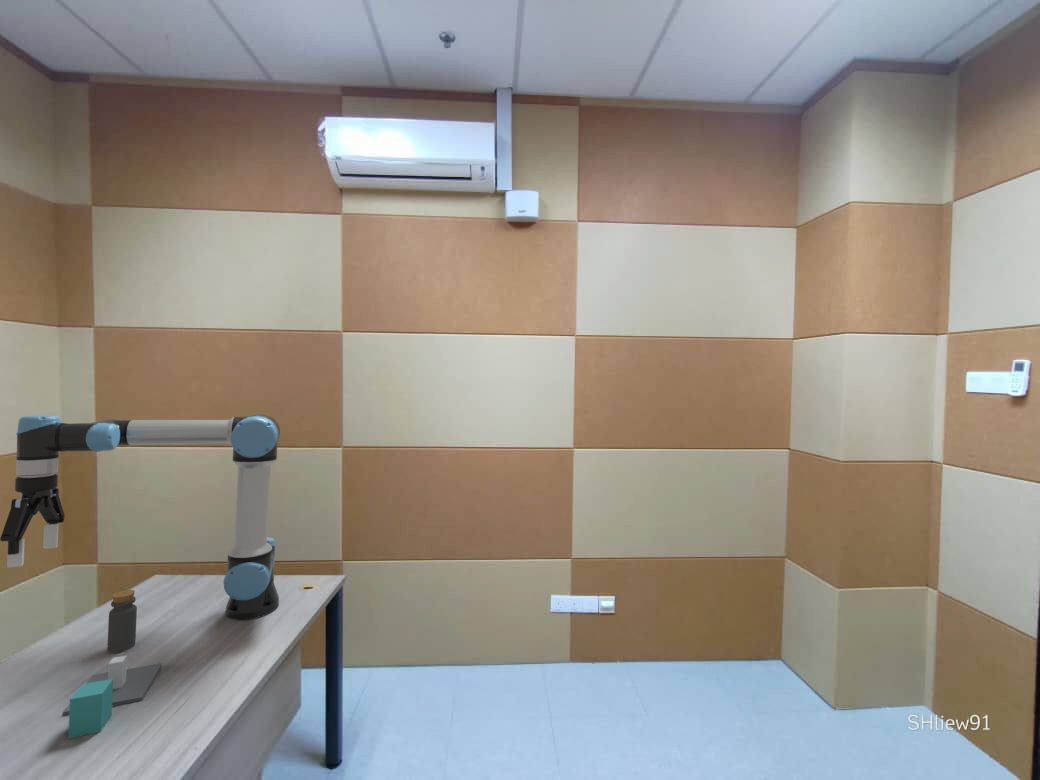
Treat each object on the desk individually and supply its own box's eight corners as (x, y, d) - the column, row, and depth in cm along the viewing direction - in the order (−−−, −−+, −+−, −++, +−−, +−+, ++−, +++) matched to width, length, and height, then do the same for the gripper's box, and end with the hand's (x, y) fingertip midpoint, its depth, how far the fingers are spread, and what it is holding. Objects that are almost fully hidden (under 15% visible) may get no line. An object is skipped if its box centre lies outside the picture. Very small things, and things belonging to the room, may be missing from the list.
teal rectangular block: (111, 715, 99) (113, 678, 99) (100, 731, 95) (102, 693, 95) (80, 721, 97) (82, 684, 97) (68, 738, 92) (70, 699, 93)
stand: (162, 666, 117) (163, 639, 117) (142, 700, 104) (143, 670, 104) (92, 678, 111) (94, 649, 112) (62, 715, 99) (63, 683, 99)
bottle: (118, 654, 121) (120, 599, 121) (101, 651, 122) (103, 596, 123) (140, 643, 127) (143, 590, 127) (124, 640, 128) (126, 587, 128)
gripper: (49, 467, 127) (46, 542, 127) (-20, 485, 104) (-24, 577, 103) (82, 466, 130) (79, 540, 129) (23, 483, 106) (19, 573, 106)
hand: (33, 556), depth 116 cm, fingers open, 13 cm apart
